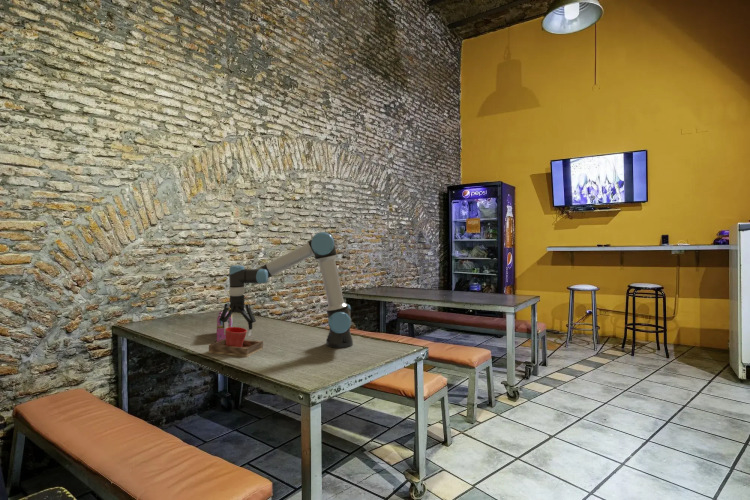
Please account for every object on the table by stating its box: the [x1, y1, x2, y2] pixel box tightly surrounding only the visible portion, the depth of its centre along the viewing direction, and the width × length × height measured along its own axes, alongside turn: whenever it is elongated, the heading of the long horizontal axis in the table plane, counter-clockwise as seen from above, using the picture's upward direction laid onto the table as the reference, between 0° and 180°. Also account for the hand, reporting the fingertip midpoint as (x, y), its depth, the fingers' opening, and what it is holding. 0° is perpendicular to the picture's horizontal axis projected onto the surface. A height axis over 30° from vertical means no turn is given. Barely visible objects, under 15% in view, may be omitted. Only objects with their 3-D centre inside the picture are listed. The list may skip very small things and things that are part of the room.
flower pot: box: [226, 326, 247, 347], centre depth 222 cm, size 11×11×10 cm
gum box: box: [216, 310, 233, 342], centre depth 251 cm, size 24×8×14 cm, turn 16°
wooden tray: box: [208, 339, 264, 358], centre depth 221 cm, size 22×16×4 cm
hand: (237, 335), depth 221 cm, fingers open, 13 cm apart
